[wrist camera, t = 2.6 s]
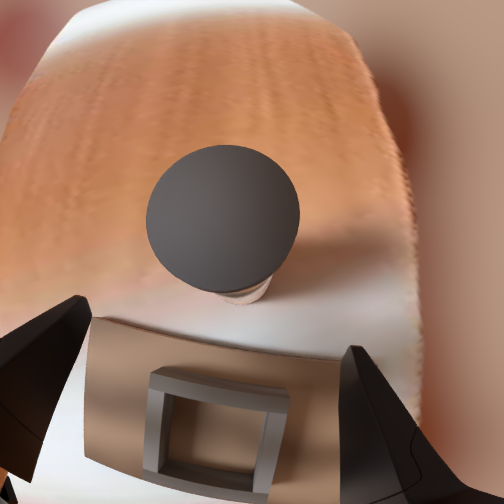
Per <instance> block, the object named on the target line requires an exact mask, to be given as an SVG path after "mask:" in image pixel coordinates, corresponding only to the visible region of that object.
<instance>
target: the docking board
mask: <svg viewBox="0 0 504 504" xmlns="http://www.w3.org/2000/svg"><path fill="white" fill-rule="evenodd" d="M340 364H341V361H333V360H321V359H311V358H301V357H292V356H284V355H276V354H268V353H261V352H254V351H248V350H241V349H235V348H229V347H224V346H218V345H213V344H207V343H202V342H197V341H192V340H188V339H183V338H178V337H174V336H169V335H165V334H161V333H156V332H152V331H148V330H144V329H140V328H136V327H132V326H129V325H125V324H121V323H118V322H114V321H111V320H107V319H104V318H100V317H92V320H91V327H90V335H89V343H88V352H87V362H86V375H85V392H84V452H85V457H87V458H89V459H92V460H94V461H96V462H98V463H100V464H103V465H105V466H107V467H110V468H112V469H115V470H117V471H120V472H122V473H125V474H128V475H130V476H133V477H136V478H139V479H142V480H145V481H148V482H151V483H154V484H157V485H161V486H164V487H168V488H171V489H175V490H179V491H183V492H187V493H191V494H196V495H201V496H206V497H211V498H216V499H222V500H228V501H235V502H243V503H252V504H339V502H340V442H339V416H338V400H339V383H340ZM376 366H377V365H376Z"/></svg>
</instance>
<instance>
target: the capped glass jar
mask: <svg viewBox="0 0 504 504" xmlns="http://www.w3.org/2000/svg"><path fill="white" fill-rule="evenodd" d="M299 220H300V209H299V201H298V197H297V193H296V191H295V188H294V186H293V184H292V182H291V180H290V178H289V177H288V176H287V174H286V173H285V172H284V170H283V169H282V168H281V167H280V166H279V165H278V164H277V163H275V162H274V161H273V160H272V159H270V158H269V157H267V156H265V155H264V154H262V153H260V152H258V151H255V150H253V149H249V148H246V147H241V146H235V145H217V146H211V147H207V148H203V149H200V150H197V151H195V152H192V153H190V154H188V155H186V156H185V157H183V158H181V159H180V160H178V161H177V162H176V163H174V164H173V165H172V166H171V167H170V168H169V169H168V170H167V171H166V172H165V173H164V174H163V175H162V177H161V178H160V180H159V181H158V182H157V184H156V186H155V188H154V190H153V192H152V194H151V197H150V200H149V203H148V207H147V215H146V228H147V234H148V238H149V242H150V245H151V247H152V249H153V251H154V253H155V255H156V257H157V258H158V260H159V261H160V262H161V264H162V265H163V266H164V267H165V268H166V269H167V270H168V271H169V272H170V273H172V274H173V275H174V276H175V277H177V278H179V279H180V280H182V281H184V282H186V283H187V284H189V285H191V286H193V287H196V288H198V289H200V290H204V291H208V292H213V293H215V294H216V295H218V296H219V297H221V298H222V299H224V300H226V301H227V302H230V303H232V304H237V305H245V304H250V303H252V302H255V301H256V300H258V299H259V298H260V297H262V296H263V294H264V293H265V292H266V290H267V288H268V286H269V284H270V281H271V279H272V276H273V274H274V273H275V271H276V270H277V269H278V268H279V267H280V266H281V265H282V263H283V262H284V260H285V259H286V257H287V255H288V253H289V251H290V249H291V247H292V245H293V243H294V241H295V238H296V235H297V232H298V227H299Z"/></svg>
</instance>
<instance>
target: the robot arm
mask: <svg viewBox="0 0 504 504" xmlns="http://www.w3.org/2000/svg"><path fill="white" fill-rule="evenodd" d="M91 319H92V312H91V309H90V306H89V304H88V301H87V299H86V297H84V296H80V295H75V296H73V297H71V298H69V299H67V300H65V301H64V302H62V303H60V304H58V305H56V306H55V307H53V308H51V309H49V310H48V311H46V312H44V313H42V314H41V315H39V316H37V317H35V318H34V319H32V320H30V321H29V322H27V323H25V324H23V325H22V326H20V327H18V328H17V329H15V330H13V331H12V332H10V333H8V334H7V335H5V336H3V338H0V504H18V501H17V498H16V495H15V493H14V490H13V487H12V484H11V481H10V478H9V476H7V474H8V472H10V473H12V474H13V475H15V476H17V477H19V478H21V479H23V480H25V481H27V482H29V483H31V481H32V478H33V474H34V470H35V467H36V464H37V460H38V457H39V454H40V451H41V448H42V444H43V441H44V438H45V435H46V432H47V429H48V427H49V424H50V421H51V419H52V416H53V413H54V411H55V408H56V405H57V403H58V400H59V398H60V396H61V393H62V391H63V388H64V386H65V384H66V381H67V379H68V377H69V374H70V372H71V370H72V368H73V365H74V363H75V361H76V359H77V357H78V354H79V352H80V349H81V347H82V344H83V341H84V338H85V335H86V333H87V330H88V327H89V325H90V322H91ZM338 416H339V442H340V504H504V498H501V497H497V496H495V495H491V494H488V493H485V492H482V491H479V490H476V489H473V488H471V487H468V486H467V485H465V484H464V483H462V482H461V481H460V480H459V479H458V478H457V477H456V475H455V474H454V473H453V472H452V471H451V469H450V468H449V467H448V466H447V464H446V463H445V462H444V461H443V460H442V458H441V457H440V456H439V455H438V454H437V452H436V451H435V450H434V448H433V447H432V446H431V444H430V443H429V441H428V440H427V439H426V437H425V436H424V435H423V433H422V431H421V430H420V428H419V427H418V426H417V424H416V422H415V421H414V420H413V418H412V417H411V415H410V414H409V412H408V411H407V409H406V408H405V406H404V405H403V403H402V402H401V400H400V399H399V397H398V396H397V395H396V393H395V392H394V390H393V389H392V387H391V386H390V384H389V383H388V382H387V380H386V379H385V377H384V376H383V374H382V373H381V372H380V370H379V369H378V367H377V366H376V365H375V363H374V362H373V360H372V359H371V358H370V356H369V355H368V353H367V352H366V351H365V349H364V348H363V347H362V346H357V345H350V346H349V347H348V349H347V351H346V353H345V355H344V357H343V358H342V361H341V364H340V383H339V400H338Z"/></svg>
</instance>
